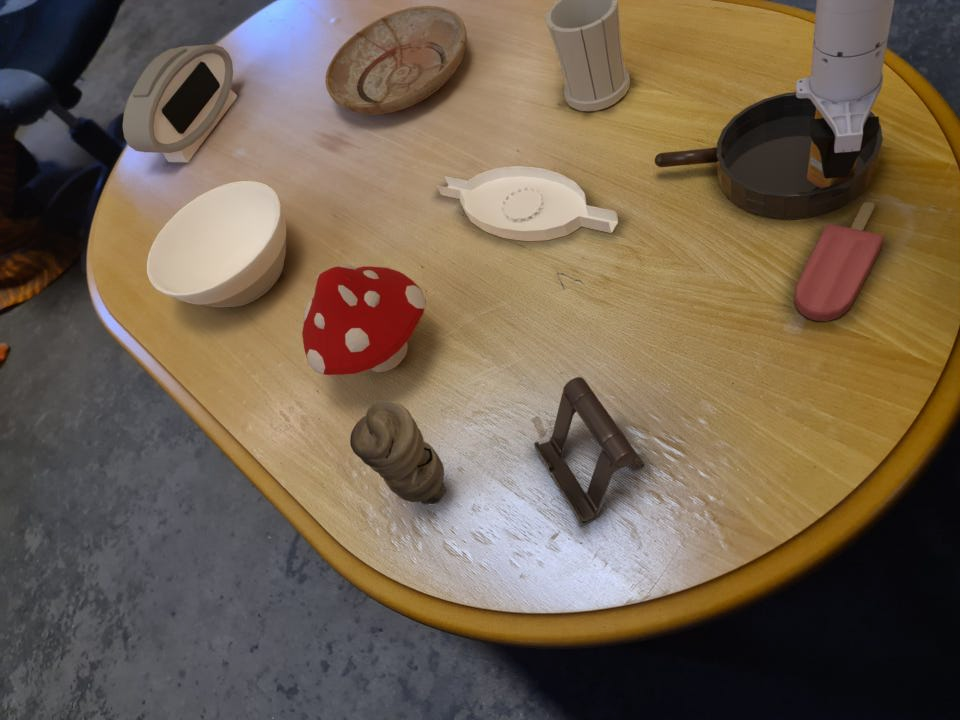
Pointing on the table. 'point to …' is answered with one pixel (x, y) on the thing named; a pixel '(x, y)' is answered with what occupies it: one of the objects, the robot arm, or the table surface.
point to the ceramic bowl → (397, 60)
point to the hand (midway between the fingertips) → (834, 158)
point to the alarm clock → (179, 101)
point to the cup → (589, 52)
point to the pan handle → (687, 157)
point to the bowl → (221, 247)
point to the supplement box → (815, 166)
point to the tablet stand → (606, 434)
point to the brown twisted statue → (399, 453)
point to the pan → (783, 162)
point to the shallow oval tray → (527, 204)
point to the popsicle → (837, 268)
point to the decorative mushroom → (360, 319)
